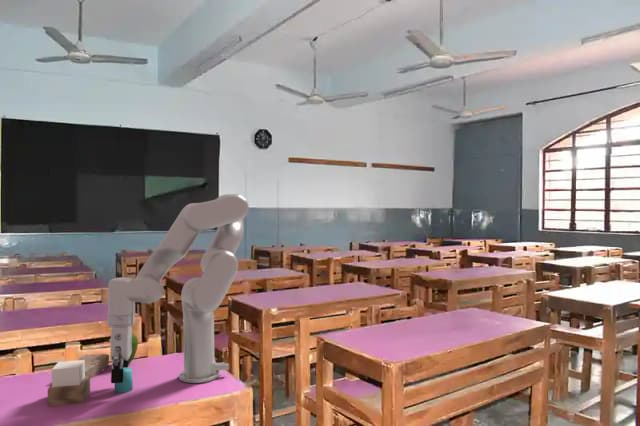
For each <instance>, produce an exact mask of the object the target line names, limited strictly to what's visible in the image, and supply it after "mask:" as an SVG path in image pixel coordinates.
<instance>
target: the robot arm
mask: <svg viewBox="0 0 640 426" xmlns="http://www.w3.org/2000/svg"><path fill="white" fill-rule="evenodd" d="M249 209H250V208H249V202H248V200H247V199H246V198H245V197H244V196H243V195H241V194H237V193H229V194H226V193H225V194H222V195H220V196H218V197H217V198H216V199H213V200H208V201H203V202H193V203H188V204H186V205H185V206H184V207H183V208H182V209H181V211H180V212H179V214H178V216H177V217H176V219H175V220H174V222H173V224H172V225H171V226H170V228H169V230H168V231H167V232H166V234H165V235H164V237H163V239H162V240H161V242H160V243H159V244H158V245H157V247H156V248H155V249H154V250H153V252H152V253H151V254H150V255H149V257H148V258H147V259H146V261H145V262H144V263H143V264H142V267H141V269H140V270H139V272H138V273H137V274H136V277H135V278H132V277H127V276H126V277H115V278H112V279H110V280H109V282H108V288H107V290H108V292H107V293H108V294H107V295H108V296H107V327H110V350H109V351H110V354H109V358H110V360H111V361H112V363H111V371H110V383H111V384H115V383H122V382H123V368H125V367H128V368H129V365H128V359H129V357H130V355H131V353H132V332H133V331H132V330H133V329H132V327H133V326H134V325H135V321H136V319H135V318H136V315H135V314H136V303H147V304H151V303H155V302H158V301H159V300H160V299H161V298H162V297H163V294H164V291H165V289H164V285H163V283H162V280H163V278H164V277H165V275H166V274H167V273H168V271H169V270H171V268H172V267H173V266H174V265H175V264H176V263H178V262H180V261H182V259H184V258H185V256H187V254H188V253H189V251H190V249H191V248H192V246H193V244H194V243H195V242H196V240H197V238H198V237H199V235H200V233H201V232H202V231H207V230H212V229H216V228H217V230H216V232H215V234H214V236H213V238H212V240H211V242H210V243H209V245H208V247H207V249H206V251H205V252H204V254H203V256H202V258H201V260H200V269H201V271H202V272H203V273H202V275H201V277H192V278H190V279H188V280H187V281H186V282H185V283H184V285H183V287H182V289H181V295H180V296H181V297H180V298H181V299H180V301H181V308H182V317H183V319H182V320H183V329H182V330H183V333H182V335H183V370H182V371H180V373H179V375H178V378H179V380H180V381H181V382H184V383H187V384H200V383H207V382H210V381H211V382H212V381H213V380H216V379H217V378H219V376H220V371H227V370H228V371H229V370H230V363H225V362H224V361H223V362H216V358H215V320H214V319H215V318H214V317H215V315H214V311H215V310H217V309H218V308H219V307H220V305H221V304H222V302H223V300H224V299H225V297H226V295H227V293H228V291H229V290H230V287H231V286H232V284H233V282H234V280H235V278H236V276H237V274H238V270H239V261H238V259H237V256H235V254H236V253H237V250H238V248H239V246H240V245H241V242H242V239H243V237H244V230H245V229H244V228H245V225H244V220H243V219H244V218H246V216H247V214H248V212H249Z"/></svg>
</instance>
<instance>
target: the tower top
mask: <svg viewBox="0 0 640 426" xmlns="http://www.w3.org/2000/svg"><path fill="white" fill-rule="evenodd" d="M84 377H85V360H78V359H77V360H65V361H64V360H63V361H58V362H57V363H56V364H55V365H54V366H53V368H52V369H51V385H52V387H62V386H74V385H80V383H81V382H82V380H83V379H84Z"/></svg>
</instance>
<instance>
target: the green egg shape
mask: <svg viewBox="0 0 640 426" xmlns="http://www.w3.org/2000/svg"><path fill="white" fill-rule="evenodd" d="M138 345H139V339H138V337H137V335H136V334H134V333H132V353H131V355H130V357H129V359H128V364H129V365H130V364H131V363H132V361H133V360H134V359H135V356H136V354H137V351H138V347H139V346H138Z"/></svg>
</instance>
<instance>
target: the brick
mask: <svg viewBox="0 0 640 426" xmlns="http://www.w3.org/2000/svg"><path fill="white" fill-rule="evenodd" d="M77 360H85V376H90V380H92V378H94V377H95V376H97V375H98V374H100V373H101V372H102V370H103V369H104V370H105V369H107V368H108V367H109V364H110V354H109V353H108V354H107V353H95V354H93V353H92V354H85V355H82V356H81V357H79V358H78V359H77ZM107 366H108V367H107ZM104 370H103V371H104ZM99 372H100V373H99Z"/></svg>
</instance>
